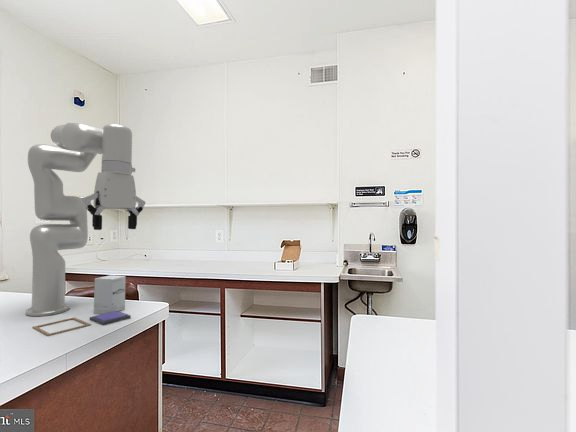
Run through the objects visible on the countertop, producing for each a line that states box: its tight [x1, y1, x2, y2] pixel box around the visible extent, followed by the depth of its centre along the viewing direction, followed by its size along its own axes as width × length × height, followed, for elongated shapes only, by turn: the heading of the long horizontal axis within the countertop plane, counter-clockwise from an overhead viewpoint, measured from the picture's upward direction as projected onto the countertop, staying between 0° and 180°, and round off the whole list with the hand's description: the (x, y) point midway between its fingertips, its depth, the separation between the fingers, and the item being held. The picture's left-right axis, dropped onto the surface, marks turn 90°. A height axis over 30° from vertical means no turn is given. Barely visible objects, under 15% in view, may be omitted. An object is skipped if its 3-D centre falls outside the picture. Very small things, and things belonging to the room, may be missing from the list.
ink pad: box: [89, 311, 131, 326], centre depth 107 cm, size 9×9×1 cm
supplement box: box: [93, 274, 127, 315], centre depth 116 cm, size 7×7×13 cm
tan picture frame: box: [31, 316, 92, 337], centre depth 99 cm, size 12×12×1 cm
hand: (115, 229), depth 90 cm, fingers open, 9 cm apart
